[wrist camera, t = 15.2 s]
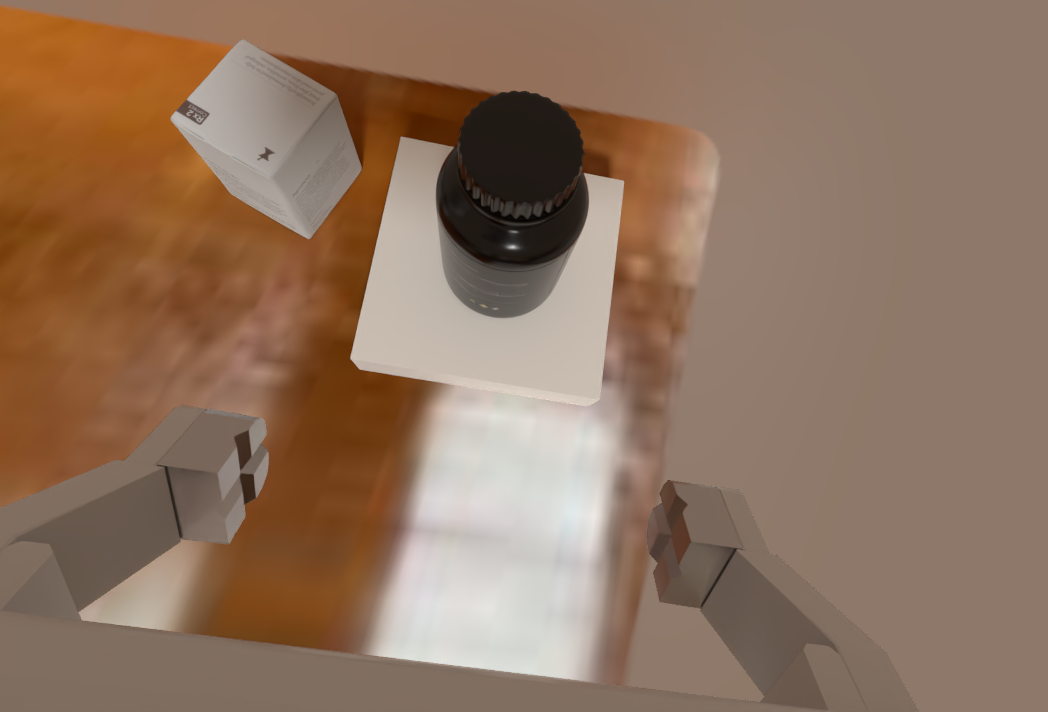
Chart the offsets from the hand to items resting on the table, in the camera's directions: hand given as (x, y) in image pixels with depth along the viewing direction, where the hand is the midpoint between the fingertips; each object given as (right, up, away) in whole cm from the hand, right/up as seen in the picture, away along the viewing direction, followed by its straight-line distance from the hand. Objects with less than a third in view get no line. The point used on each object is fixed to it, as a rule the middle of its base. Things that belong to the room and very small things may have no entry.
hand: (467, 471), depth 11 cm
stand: (-1, +7, +24) cm, 25 cm away
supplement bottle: (0, +8, +21) cm, 22 cm away
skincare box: (-13, +13, +24) cm, 30 cm away
